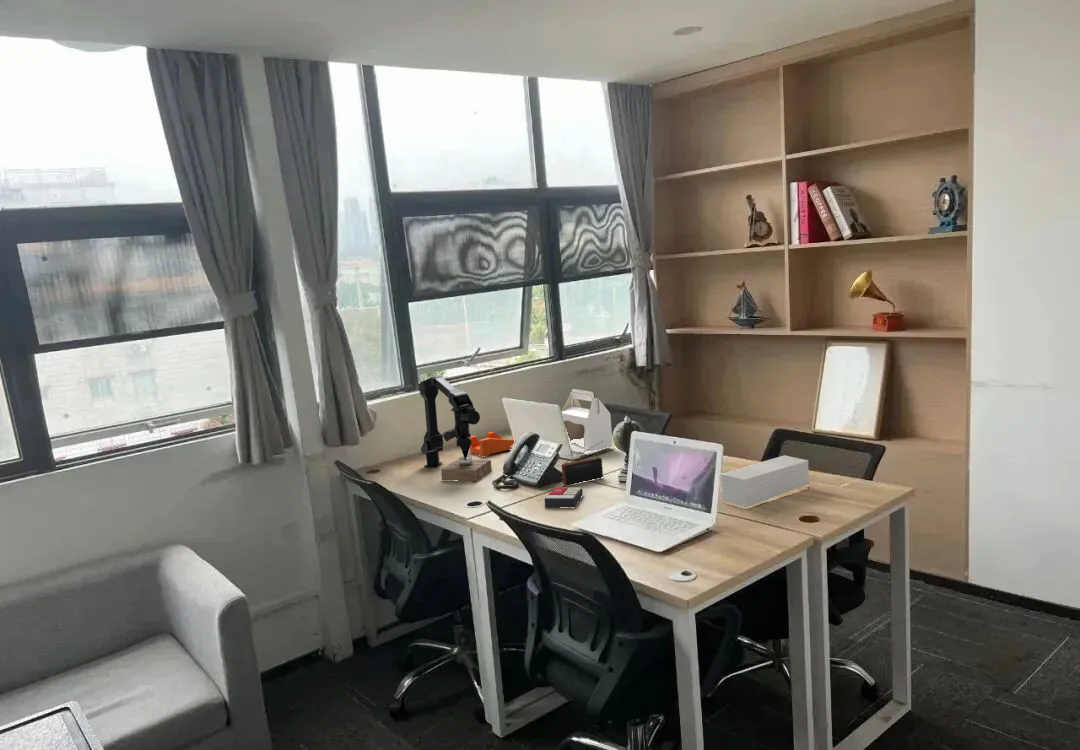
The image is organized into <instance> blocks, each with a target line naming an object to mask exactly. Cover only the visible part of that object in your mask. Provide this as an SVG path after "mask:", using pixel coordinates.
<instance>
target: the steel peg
mask: <svg viewBox="0 0 1080 750" xmlns="http://www.w3.org/2000/svg"><path fill="white" fill-rule="evenodd" d="M458 459H459V465H460V466H470V465H472V464H473V462H472V459H473V456H471V455H467V458H464V456H463V455H462V456H460V457H458Z"/></svg>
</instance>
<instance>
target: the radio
mask: <svg viewBox="0 0 1080 750" xmlns="http://www.w3.org/2000/svg"><path fill="white" fill-rule="evenodd" d="M601 442H603V441H601ZM601 442H600V443H601ZM598 444H599V443H598ZM596 445H597V444H596ZM596 445H595V446H596ZM593 447H594V446H593ZM591 448H592V447H591ZM589 449H590V448H589ZM589 449H588V450H589ZM586 451H587V450H586ZM584 452H585V451H584ZM584 452H583V453H584ZM580 455H583V454H582V453H578V454H577V455H576V456H574V457H572V458H570V459H569V460H567V461H565V462H564V463H562V464H561V473H562V474H561V475H562V485H563V484H564V485H563V486H565V485H570V484H574V483H579V482H583V481H588V480H592V479H597V478H601V477H603V478H604V471H603V459H602V458H601V457H598V456H596V457H591V458H587V459H581V460H576V461H571V460H573V459H576V458H577V457H578V456H580Z"/></svg>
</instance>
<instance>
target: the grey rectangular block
mask: <svg viewBox="0 0 1080 750" xmlns="http://www.w3.org/2000/svg"><path fill="white" fill-rule="evenodd" d="M809 473H810V472H809V460H808V459H803V458H799V457H793V456H789V455H781V456H778V457H774V458H769V459H767V460H764V461H760V462H758V463H754V464H751V465H746V466H743V467H740V468H736V469H733V470H730V471H726V472H723V473H721V474H722V476H721V477H722V479H721V480H722V481H721V493H722V494H721V497H722V498H721V499H722V502H723V501H726V502H730V503H733V504H736V505H739V506H743V507H748V506H751V505H753V504H756V503H759V502H761V501H765V500H768V499H770V498H773V497H775V496H778V495H781V494H783V493H785V492H788V491H791V490H794V489H796V488H798V487H801V486H804V485H807V484H810V479H809V478H810V475H809Z"/></svg>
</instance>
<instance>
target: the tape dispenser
mask: <svg viewBox="0 0 1080 750" xmlns="http://www.w3.org/2000/svg"><path fill="white" fill-rule="evenodd" d="M470 438H471V442H472V445H470V448H469V452H471V453H470V454H472V453H474V454H473V455H475V454H477V455H476V456H478V455H480V456H479V457H481V456H483V457H482V458H485V457H484V456H487V457H489V455H490V454H494V453H499V452H504V451H510V450H509V449H510V447H511V446H512V445H513V443H514V440H515V439H508V438H507V439H506V438H503V437H501V436H500V435H498V434H497V433H495V432H494V431H490V432H487V433H486V437H485V438H483V439H482V438H481V439H479V440H478V438H477V436H476V435H470Z"/></svg>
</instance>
